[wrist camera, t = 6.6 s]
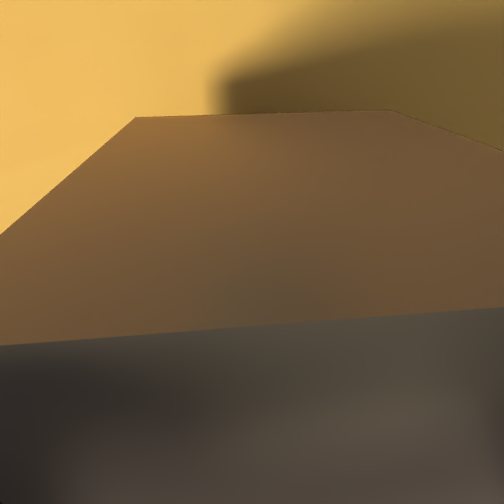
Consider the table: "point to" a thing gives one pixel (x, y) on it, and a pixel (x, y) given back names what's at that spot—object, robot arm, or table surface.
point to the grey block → (259, 317)
